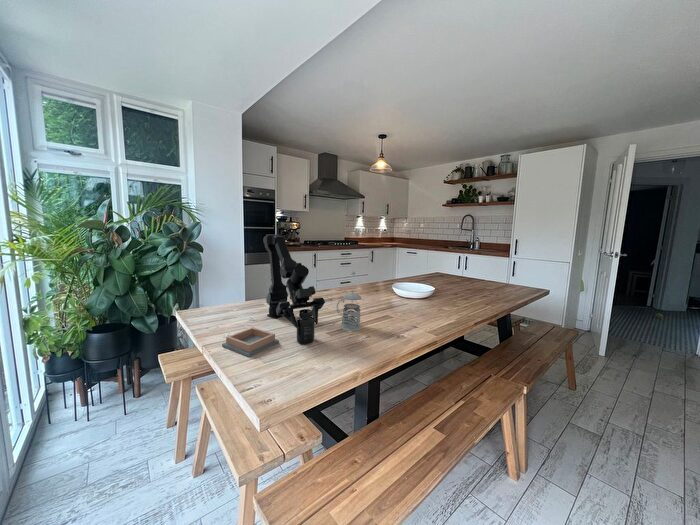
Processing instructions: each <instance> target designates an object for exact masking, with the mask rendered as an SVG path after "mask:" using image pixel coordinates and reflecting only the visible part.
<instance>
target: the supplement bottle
mask: <svg viewBox="0 0 700 525" xmlns="http://www.w3.org/2000/svg"><path fill="white" fill-rule="evenodd" d="M298 316H299V317H298V318H297V319H296V321H297V325H298V327H297V328H296V342H297V343H298V344H301V345H310V344H313V343H314V341H315V334H316V332H315V329H316V327H315V325H316V323H315V320H314V318H313V316H312V309H305V308H302V309H300V310H299V314H298Z"/></svg>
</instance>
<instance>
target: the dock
mask: <svg viewBox="0 0 700 525" xmlns="http://www.w3.org/2000/svg"><path fill="white" fill-rule="evenodd" d="M279 343H280V340H279V339H276V333H273V332H269V331H267V330H263V329H260V328H257V327H253V326H252V327H249V328H247V329H244V330H242V331H238V332H236V333H233V334H231V335H228V336H226V338H225V342H223V343H221V347H222V348H225V349H227V350H230V351H232V352H235V353H238V354H240V355H241V356H244V357H248V358H250V357H252V356H254V355H256V354H259V353H260V352H262V351H264V350H267V349H268V348H271V347H273V346H275V345H277V344H279Z"/></svg>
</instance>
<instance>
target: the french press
mask: <svg viewBox="0 0 700 525" xmlns="http://www.w3.org/2000/svg"><path fill="white" fill-rule="evenodd" d="M350 275H352V276H354V275H356V272H355V271H351V272H350ZM351 289H352V291H351V292H349V293H346V294H344V295H343V296H342V297H343V298H341V299H340V300H339V301H337V303H336V311H337V313H338V314H339V315H340V316H341V317H342V318H341V320H342V321H341V324H340V326H339V327H340V329H341V330H344V331H347V332H358V331H361V330H362V329H363V327H362V325H361V308H360V307H361V306H360V305H359V304H357V303H352V302H351V303H345V304H343V309H342V312H341V311H340V310H339V303H340V302H341V301H342V303H344V302H345V301H343V300H348V301H360V300H362V296H361V295H359V294H357V293H355V292H354V285H352V288H351ZM361 328H362V329H361ZM360 329H361V330H360ZM357 330H358V331H357Z"/></svg>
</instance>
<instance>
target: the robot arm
mask: <svg viewBox="0 0 700 525" xmlns="http://www.w3.org/2000/svg"><path fill="white" fill-rule="evenodd" d="M262 240H263V244H264V248H265V250H266V251H267V253H268V255H269V267H270V278H271V284H270V286H269V287H268V293H267V295H266V298H265V301H266V304H267V305H269V306H268V314H267V315H266V316H267V317H271V318H273V319H279V318H281V317H283V318H286V319H287V320H288V321H289V322H290V323H291V325H293V327H295V329H297V327H298V325H297V319H296V315H295V313H294V310H298V309H305V308H310V310H312V316H311V317H313V318H314V320H315V325H318V324H319V310H321V309H322V308H323V306H324V305H325V303H326V300H325V298H324V297H322V296H321V297H314V298H313V300H312V301H309V300H310V298H312V297H313V296H314V295H315V294H316V293H317V292H316V288H315V287H314V286H308V287H307V288H305V287H304V288H303V284H304V283H305V280H306V279H307V277H308V275H309V272H310V270H309V269H308V268H307V266H306V265H303V264H302V262H297V261H296V260H294V259H293V258H292V256H291V253H290V251H289V248H288V245H287V243H286V237H285V236H283V235H280V234H265V236H264V237H263V239H262ZM282 279H285V280H286V279H287V280H286V284H284V283H283V280H282ZM287 290H288V291H287ZM288 292H289V293H288ZM288 297H289V300H291V303H290V301H288Z"/></svg>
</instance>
